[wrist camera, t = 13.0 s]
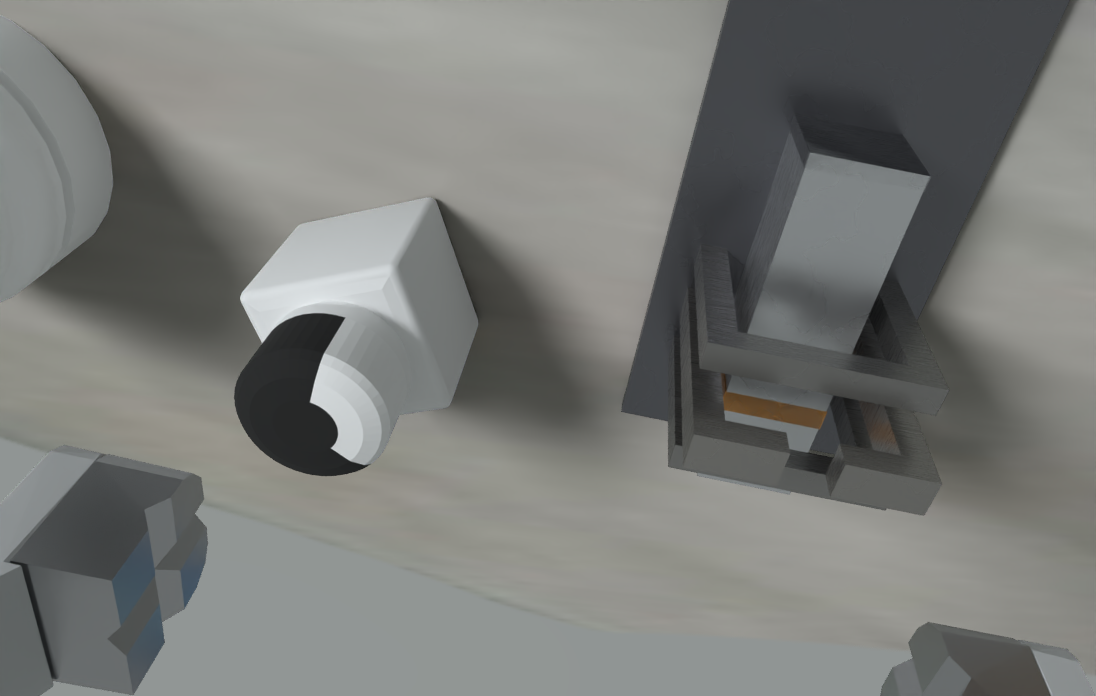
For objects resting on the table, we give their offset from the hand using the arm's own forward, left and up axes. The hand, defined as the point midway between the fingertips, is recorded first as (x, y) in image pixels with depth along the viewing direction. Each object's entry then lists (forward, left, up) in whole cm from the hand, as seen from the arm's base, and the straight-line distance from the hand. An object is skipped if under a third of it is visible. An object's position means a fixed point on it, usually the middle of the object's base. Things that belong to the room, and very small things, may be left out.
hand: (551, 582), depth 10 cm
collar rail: (+5, +9, -29) cm, 31 cm away
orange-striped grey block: (+10, +9, -28) cm, 32 cm away
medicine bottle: (+14, -9, -29) cm, 34 cm away
